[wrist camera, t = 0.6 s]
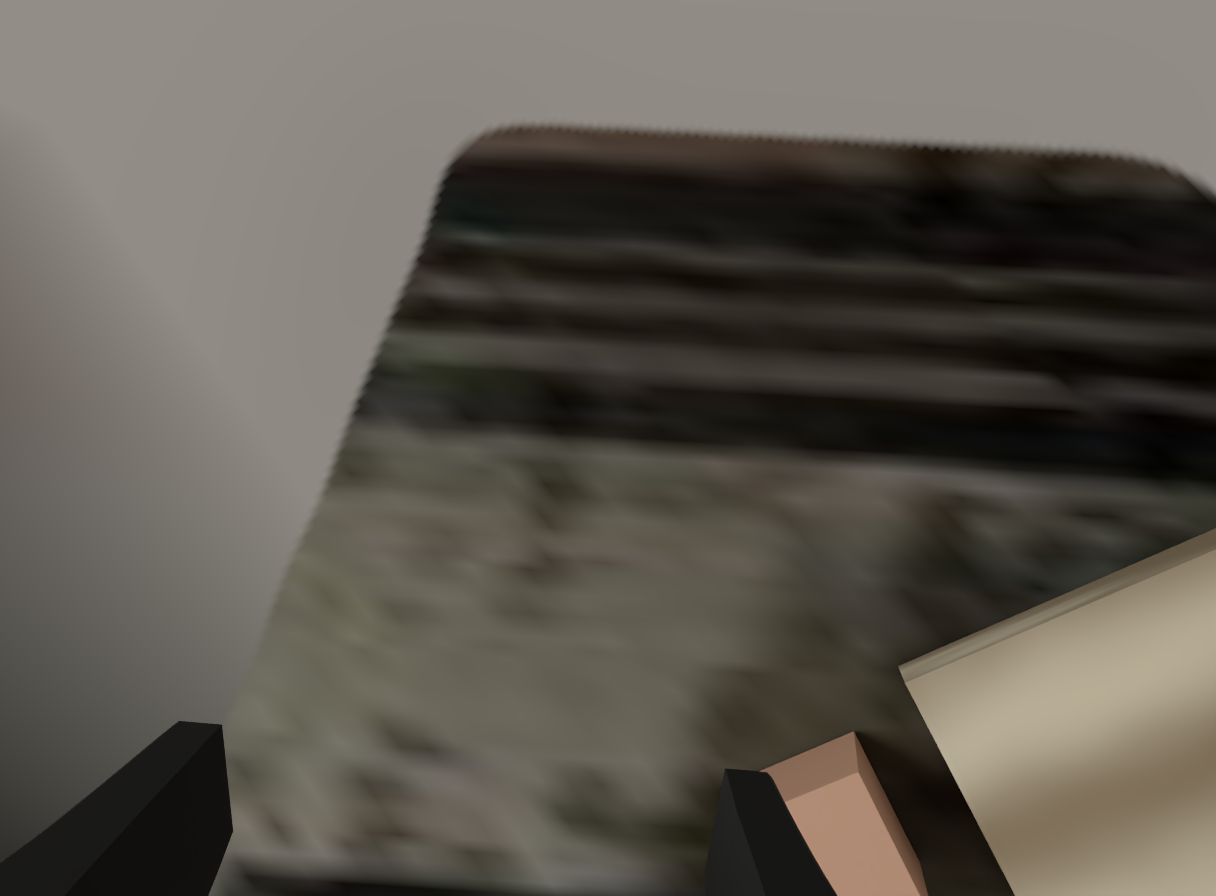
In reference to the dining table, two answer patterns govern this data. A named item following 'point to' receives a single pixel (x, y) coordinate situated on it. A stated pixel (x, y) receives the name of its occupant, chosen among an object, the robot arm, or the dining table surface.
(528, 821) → the dining table surface
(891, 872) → the terracotta cube
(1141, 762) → the birch base
